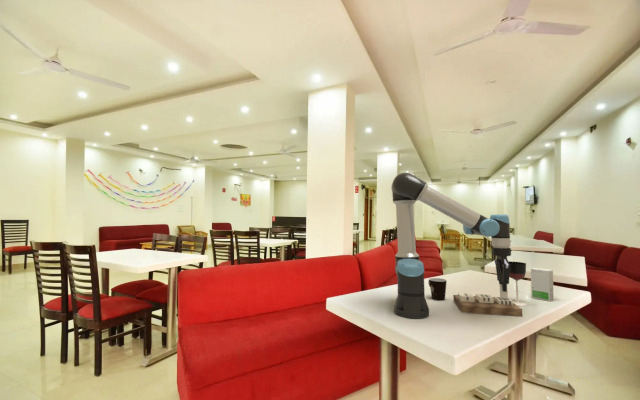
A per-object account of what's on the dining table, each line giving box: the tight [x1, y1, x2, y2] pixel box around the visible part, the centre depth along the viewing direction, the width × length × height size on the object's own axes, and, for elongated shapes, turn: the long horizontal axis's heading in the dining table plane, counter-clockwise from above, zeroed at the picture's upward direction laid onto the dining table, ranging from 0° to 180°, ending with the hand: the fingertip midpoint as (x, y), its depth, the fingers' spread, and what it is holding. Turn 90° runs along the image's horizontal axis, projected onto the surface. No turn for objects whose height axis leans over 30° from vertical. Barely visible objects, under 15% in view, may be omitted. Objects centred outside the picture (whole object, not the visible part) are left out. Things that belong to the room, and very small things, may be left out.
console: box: [453, 294, 523, 318], centre depth 135 cm, size 24×18×3 cm
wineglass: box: [508, 260, 528, 307], centre depth 142 cm, size 8×9×20 cm
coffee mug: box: [428, 277, 447, 302], centre depth 152 cm, size 12×9×10 cm
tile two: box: [475, 293, 494, 303], centre depth 135 cm, size 6×6×3 cm
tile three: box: [493, 296, 514, 305], centre depth 133 cm, size 6×6×3 cm
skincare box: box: [530, 267, 554, 302], centre depth 150 cm, size 8×7×16 cm
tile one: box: [457, 292, 475, 302], centre depth 137 cm, size 6×6×3 cm
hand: (504, 297), depth 133 cm, fingers closed
